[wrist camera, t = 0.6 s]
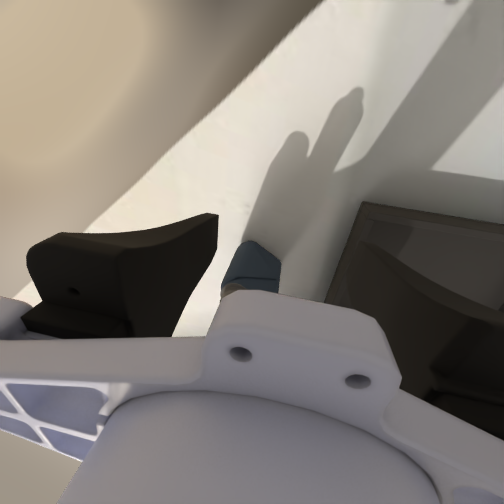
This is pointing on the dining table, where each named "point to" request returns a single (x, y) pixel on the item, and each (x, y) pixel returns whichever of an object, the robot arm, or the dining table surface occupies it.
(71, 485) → the robot arm
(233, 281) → the vaping device
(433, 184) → the dining table surface
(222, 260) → the dining table surface
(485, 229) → the tray
